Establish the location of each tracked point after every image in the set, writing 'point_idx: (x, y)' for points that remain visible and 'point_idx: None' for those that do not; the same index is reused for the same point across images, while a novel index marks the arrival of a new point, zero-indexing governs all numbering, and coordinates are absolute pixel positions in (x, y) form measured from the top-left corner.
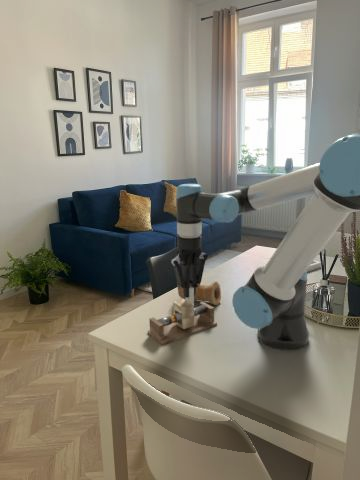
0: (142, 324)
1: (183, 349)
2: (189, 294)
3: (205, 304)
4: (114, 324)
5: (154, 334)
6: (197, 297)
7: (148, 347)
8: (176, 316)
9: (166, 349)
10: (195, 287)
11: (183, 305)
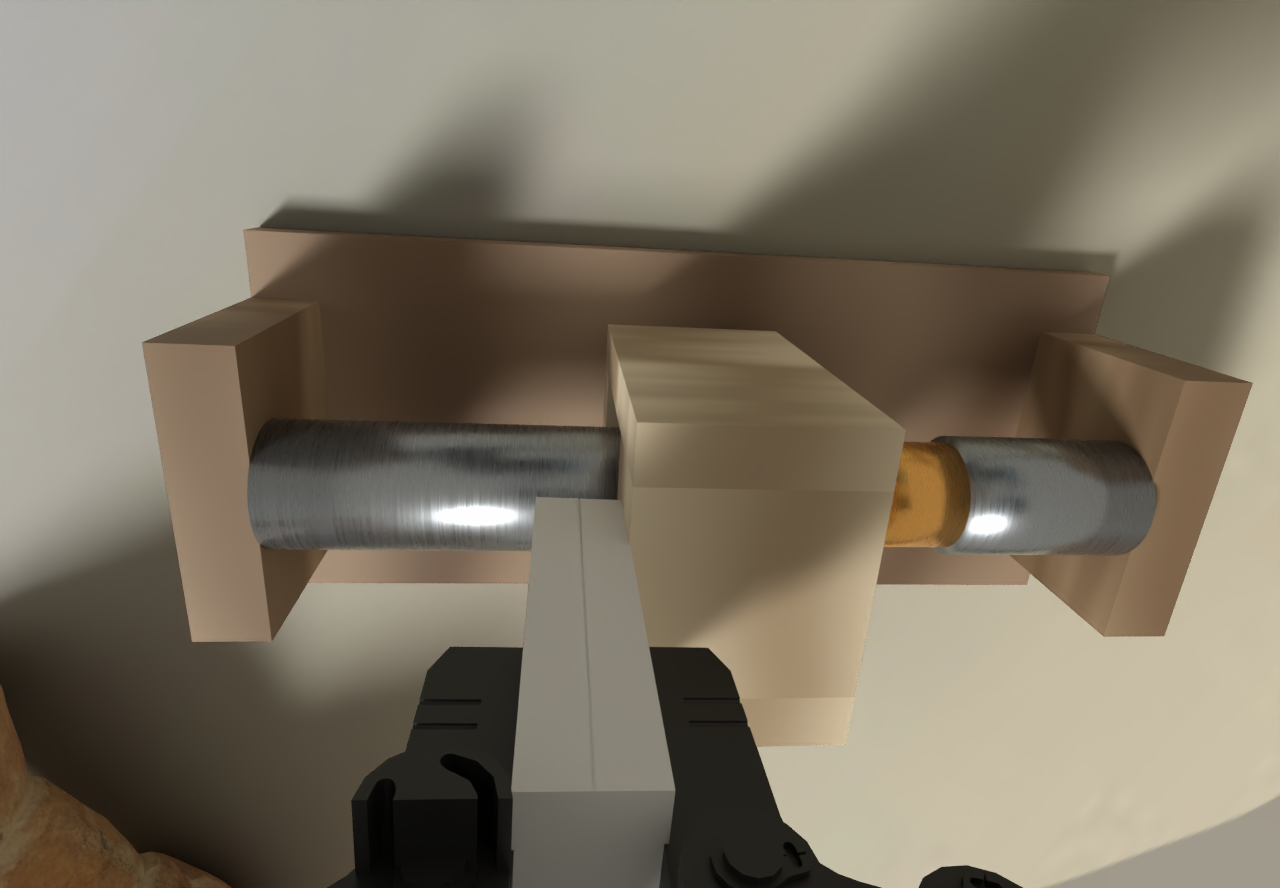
0: (932, 728)
1: (1000, 24)
2: (645, 678)
3: (215, 538)
4: (1099, 846)
5: None
6: (119, 864)
7: (1207, 330)
8: None
9: (1123, 167)
10: (482, 758)
11: (819, 521)
